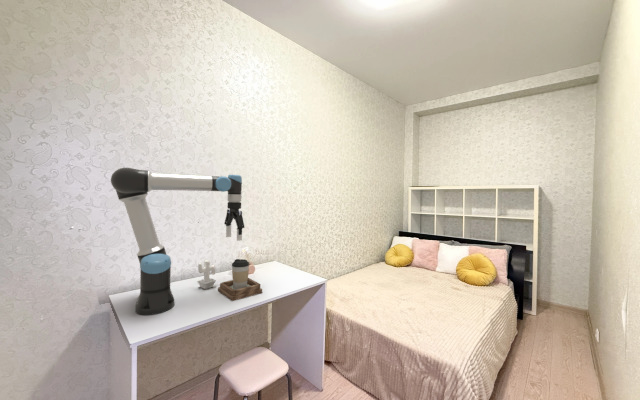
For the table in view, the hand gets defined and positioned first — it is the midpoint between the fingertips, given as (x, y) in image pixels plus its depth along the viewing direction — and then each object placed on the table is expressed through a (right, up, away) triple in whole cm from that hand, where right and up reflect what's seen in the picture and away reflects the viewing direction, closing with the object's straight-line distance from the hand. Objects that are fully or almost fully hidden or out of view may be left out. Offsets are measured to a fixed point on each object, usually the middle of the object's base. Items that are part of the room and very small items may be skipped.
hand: (233, 238), depth 151 cm
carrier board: (+7, -27, -10) cm, 30 cm away
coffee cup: (+7, -25, -10) cm, 28 cm away
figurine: (-14, -27, -5) cm, 30 cm away
